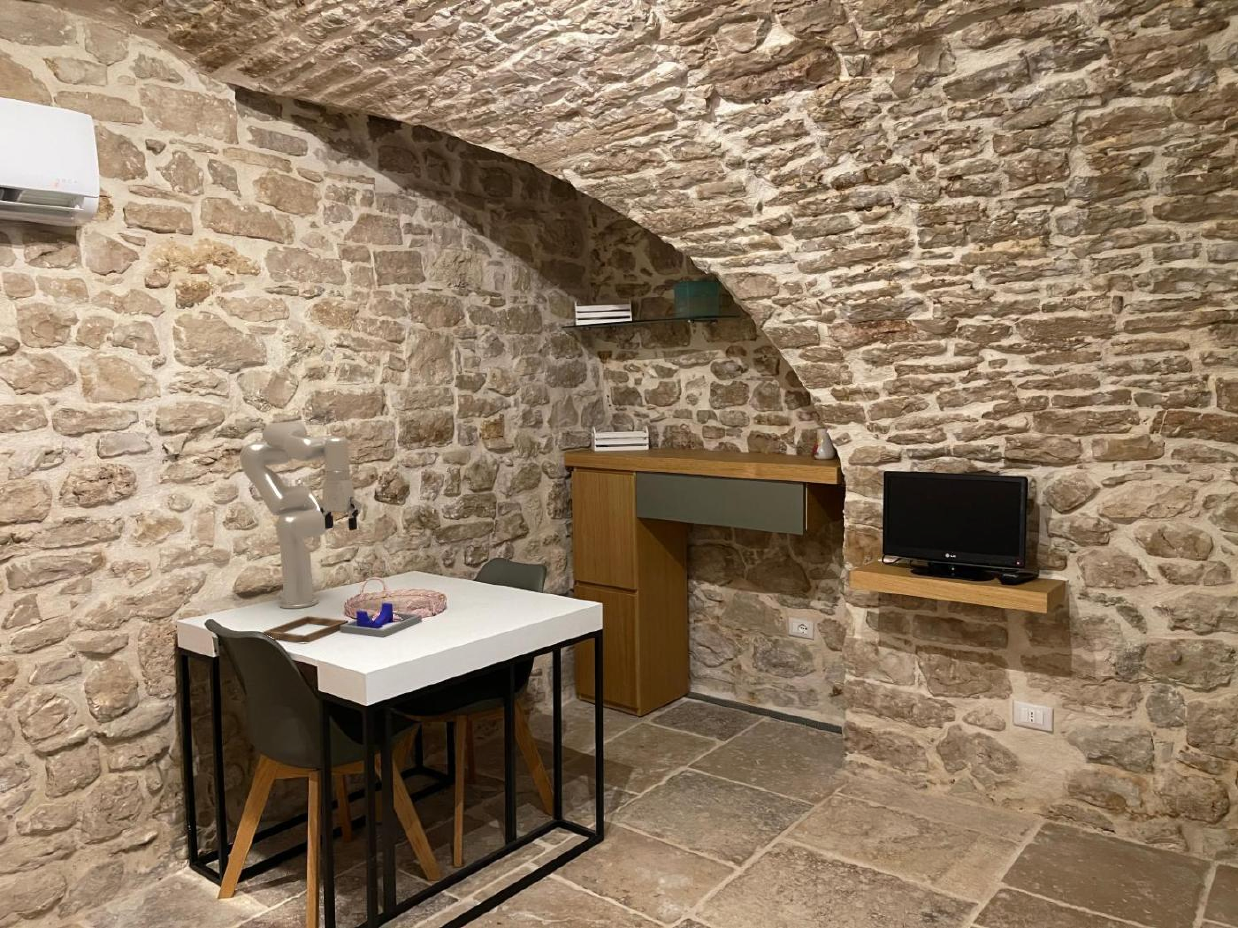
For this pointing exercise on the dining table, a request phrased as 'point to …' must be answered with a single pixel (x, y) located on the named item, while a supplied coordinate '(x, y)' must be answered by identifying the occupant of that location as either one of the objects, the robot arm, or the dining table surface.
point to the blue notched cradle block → (381, 620)
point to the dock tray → (408, 621)
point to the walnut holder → (279, 631)
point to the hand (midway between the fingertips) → (341, 529)
